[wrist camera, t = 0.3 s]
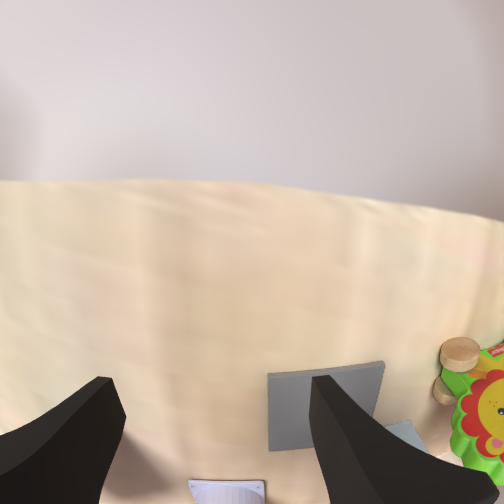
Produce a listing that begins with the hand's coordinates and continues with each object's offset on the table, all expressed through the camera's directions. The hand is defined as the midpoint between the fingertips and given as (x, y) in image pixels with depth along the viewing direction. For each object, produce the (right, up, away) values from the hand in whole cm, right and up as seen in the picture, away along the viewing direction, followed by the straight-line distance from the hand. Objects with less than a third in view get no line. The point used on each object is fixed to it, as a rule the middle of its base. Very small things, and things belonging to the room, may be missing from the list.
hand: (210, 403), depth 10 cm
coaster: (+7, -8, +12) cm, 16 cm away
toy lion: (+22, -4, +12) cm, 26 cm away
